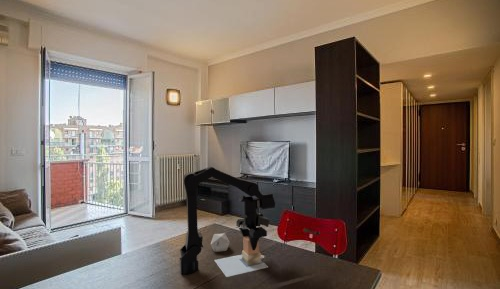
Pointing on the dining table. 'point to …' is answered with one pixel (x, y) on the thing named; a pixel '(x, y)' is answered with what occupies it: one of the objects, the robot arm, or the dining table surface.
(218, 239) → the die
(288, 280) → the dining table surface
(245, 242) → the terracotta block
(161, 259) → the dining table surface
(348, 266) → the dining table surface
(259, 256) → the birch base block
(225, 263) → the blueprint board
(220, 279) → the dining table surface
